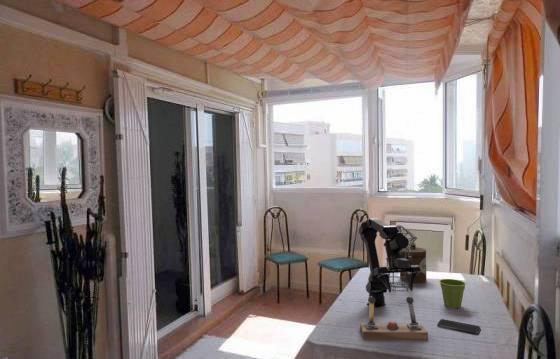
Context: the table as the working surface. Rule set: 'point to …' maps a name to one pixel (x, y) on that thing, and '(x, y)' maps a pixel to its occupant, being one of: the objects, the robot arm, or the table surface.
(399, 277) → the geometric lantern
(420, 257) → the wooden container
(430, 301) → the table surface
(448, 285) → the plant pot
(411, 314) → the graphite lever
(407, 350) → the table surface
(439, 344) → the table surface
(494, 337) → the table surface
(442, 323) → the phone
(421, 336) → the switch panel
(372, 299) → the dark gray metal lever
